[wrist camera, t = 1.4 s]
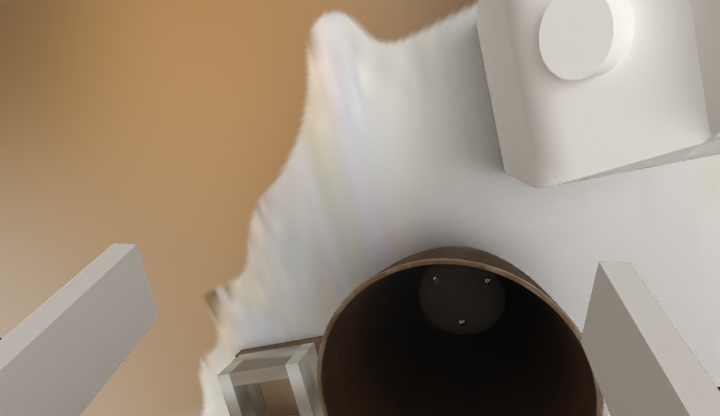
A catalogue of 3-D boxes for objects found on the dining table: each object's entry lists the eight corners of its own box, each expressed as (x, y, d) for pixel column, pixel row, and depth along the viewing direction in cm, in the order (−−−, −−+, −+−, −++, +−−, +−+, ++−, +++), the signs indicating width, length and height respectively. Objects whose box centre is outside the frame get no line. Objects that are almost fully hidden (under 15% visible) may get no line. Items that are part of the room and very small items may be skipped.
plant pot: (482, 408, 41) (483, 573, 25) (345, 308, 43) (270, 406, 27) (593, 279, 37) (674, 383, 21) (438, 174, 39) (410, 201, 23)
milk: (665, 140, 34) (1166, 158, 9) (505, 173, 37) (556, 251, 12) (638, -25, 33) (1133, -517, 8) (475, 23, 36) (468, -224, 11)
